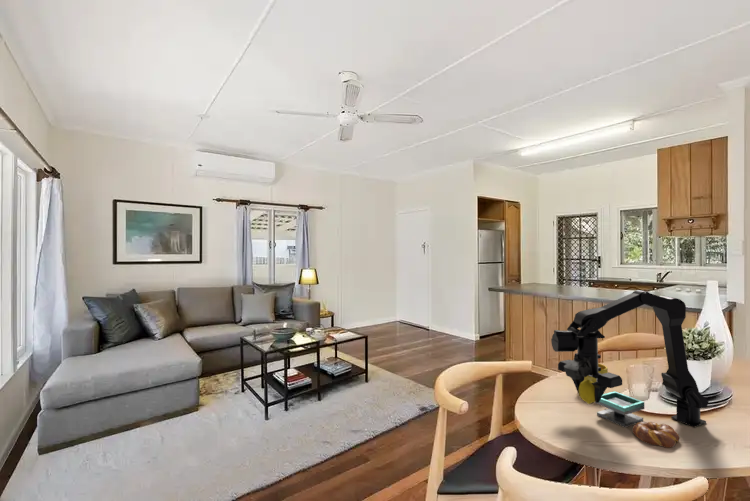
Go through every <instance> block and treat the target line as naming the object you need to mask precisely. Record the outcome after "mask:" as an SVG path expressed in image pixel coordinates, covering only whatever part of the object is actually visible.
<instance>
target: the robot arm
mask: <svg viewBox="0 0 750 501" xmlns="http://www.w3.org/2000/svg"><path fill="white" fill-rule="evenodd" d="M643 305H646V306H648V307H652V309H653V312H654V315H655V317H656V318H657V319H658V321H659V323H660V324H661V328H662V334H663V340H664V341H663V342H664V346H665V353H666V361H667V370H666V372H661V374H660V375H661V377H662V383H661V384H662V385H663V386H664V387H665V389H666V390H667V391H668V392H669V394H670V397H673V398H675V400H676V406H675V408H676V414H674V415H672V416H671V417H670V418H671V419H672V420H674V421H677V422H680V423H682V424H685V425H686V426H687V425H688V426H690V427H693V428H696V427H699V426H702V425H704V424H707V421H706V420H705V419H701V409H702V408H707V407H708V404H709V402H710V401H709V400H708V399H707V398H706V397H705V396H704V395H702V394H701V393H700V391H699V387H698V385H697V382H696V380H695V378H694V376H693V375H692V373H691V372H690V370H689V367H688V366H689V365H688V360H687V352H686V345H685V339H684V332H683V328H682V325H683V323H684V321H685V319H686V317H687V306H686V303H685V301H683V300H682V299H680V298H676V297H671V296H667V295H656V294H652V293H650V292H648V291H646V290H641V289H636V290H634V291H632V292H631V293H629V294H627V295H624V296H622V297H620V298H618V299H616V300H613V301H611V302H609V303H607V304H604V305H602V306H600V307H596V308H595V307H594V308H588V309H585V310H584V309H583V310H580V311H578V312H576V313H575V314H574V317H573V321H572V322H571V323H570V324H569V326H568V327H567V329H566V330H559V329H554V330H553V334H552V336H551V338H550V339H551V340H550V341H551V347H552V349H553V351H554V352H558V353H562V352H566V353H567V352H569V353H570V352H575V353H574V356H573V360H572V359H566V360H565V359H564V360H561V361H559V362H558V364H557V370H559V371H560V372H564V373H565V375H566V376H567V377H569V378H571V380H572V382H573V384H574V386H575V390H576V391H577V394H578V396H579V397H580V395H579V386H580V383H581V382H582V381H584V377H587V376H590V377H593V378H596V382H594V383H592V384H593V386H594V387H595V402H596V403H598V402H599V401H600V399H601V397H602V395H603V394H605V393H606V390H607V389H613V388H617V387H620V386H623V378H622V377H621V376H620V375H618V374H615V373H612V372H608V373H604V374H601V373H598V371H601V368H600V367H598V363H599V359H602V358H601V357H602V356H601V354H599V352H598V351H599V350H598V349H599V348H598V347H599V346H598V344H599V342H598V340H599V339H606V336H605V335H604V334H602V333H601V332H600V329H602V328H603V327H605V326H606V324H607V323H609V321H611V320H613V319H614V318H616V317H620V316H622V315H624V314H625V313H629V312H630V311H632V310H633V311H634V310H635V309H637V308H641V306H643ZM576 351H577V353H576ZM595 402H594V403H595ZM596 403H595V404H596Z"/></svg>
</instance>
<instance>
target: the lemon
mask: <svg viewBox="0 0 750 501" xmlns="http://www.w3.org/2000/svg"><path fill="white" fill-rule="evenodd" d="M592 383H593V382H592V381H590V380H588V379H587V380H585V381H582V382H581V383H580V386H579V394H578V396H579V395H580V396H579V398H580V399H581V400H582V401H584V402H585V403H586V404H587V405H591V404H593V403H595V387H594V386H593V384H592Z"/></svg>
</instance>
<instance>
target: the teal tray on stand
mask: <svg viewBox="0 0 750 501" xmlns="http://www.w3.org/2000/svg"><path fill="white" fill-rule="evenodd" d="M594 404H596V405H599V406H601V407H604V408H606V409H603V410H600V411H597V412H596V415H597V416H598V417H601V418H603V419H605V420H607V421H609V422H612V423H614V424H616V425H618V426H621V427H622V428H628V427H630V426H634V425H636V423H638V422H644V417H641V416H639V415H637V414H634V413H636V412H641V411H642V410H645V401H643V400H640V399H637V398H635V397H631V396H628V395H626V394H623V393H620V392H618V391H609V392H607V393H606V392H605V393H604V394H603V395H602V397H601V399H600V401H599V402H598V403H596V402H594Z"/></svg>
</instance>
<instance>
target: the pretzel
mask: <svg viewBox="0 0 750 501" xmlns="http://www.w3.org/2000/svg"><path fill="white" fill-rule="evenodd" d="M632 433H633V435H635V437H637V438H638V439H639V440H640V441H642V442H644V443H645V444H648V445H652V446H661V447H663V448H667V449H668V448H673V447H674V446H675V445H676V443H678V442H679V440H680V435H679V434H678V432H677V431H675V429H674V428H673V427H672V426H670V425H668V424H666V423H660V424H658V422H653V421H648V422H647V421H642V422H638V423H636V424H633V427H632Z"/></svg>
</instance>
